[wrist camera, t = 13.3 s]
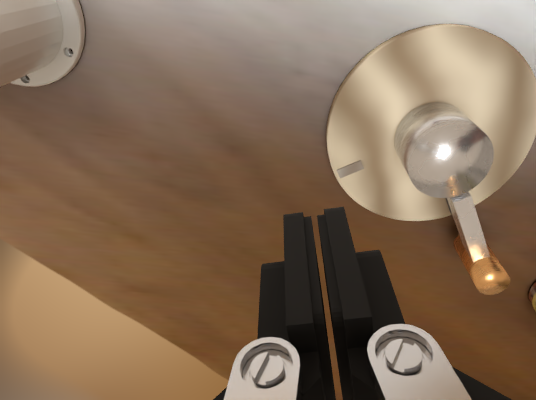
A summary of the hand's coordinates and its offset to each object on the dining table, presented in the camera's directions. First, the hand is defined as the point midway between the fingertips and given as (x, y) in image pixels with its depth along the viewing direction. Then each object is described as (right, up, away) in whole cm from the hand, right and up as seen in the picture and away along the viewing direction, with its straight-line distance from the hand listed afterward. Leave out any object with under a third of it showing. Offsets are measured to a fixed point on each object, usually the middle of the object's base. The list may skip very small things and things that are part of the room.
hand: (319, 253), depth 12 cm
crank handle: (+17, +3, +31) cm, 35 cm away
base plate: (+15, +8, +30) cm, 34 cm away
